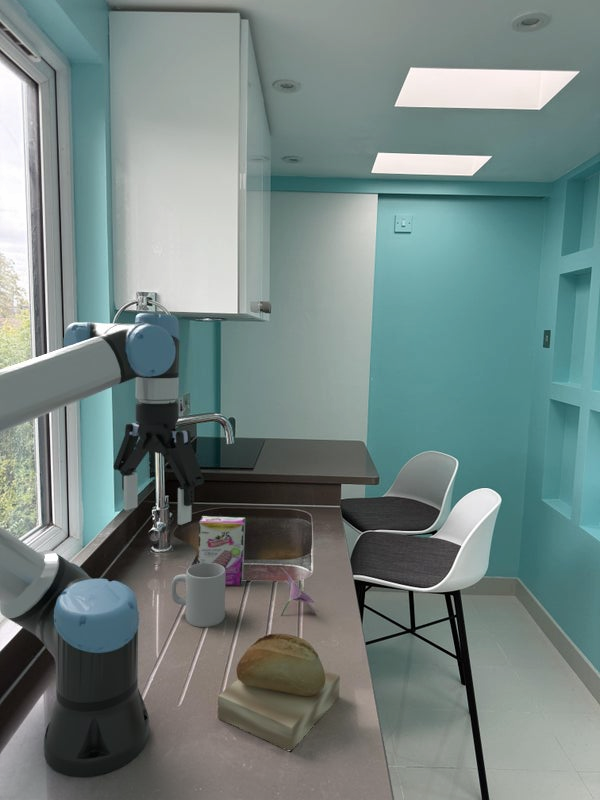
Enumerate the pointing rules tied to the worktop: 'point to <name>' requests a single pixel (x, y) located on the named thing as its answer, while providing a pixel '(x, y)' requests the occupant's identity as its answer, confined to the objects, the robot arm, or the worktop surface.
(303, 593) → the lily
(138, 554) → the worktop surface
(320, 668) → the bread roll
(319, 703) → the wooden base
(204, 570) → the mug
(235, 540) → the candy bar box
